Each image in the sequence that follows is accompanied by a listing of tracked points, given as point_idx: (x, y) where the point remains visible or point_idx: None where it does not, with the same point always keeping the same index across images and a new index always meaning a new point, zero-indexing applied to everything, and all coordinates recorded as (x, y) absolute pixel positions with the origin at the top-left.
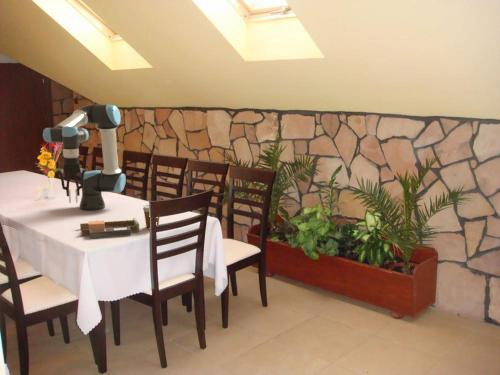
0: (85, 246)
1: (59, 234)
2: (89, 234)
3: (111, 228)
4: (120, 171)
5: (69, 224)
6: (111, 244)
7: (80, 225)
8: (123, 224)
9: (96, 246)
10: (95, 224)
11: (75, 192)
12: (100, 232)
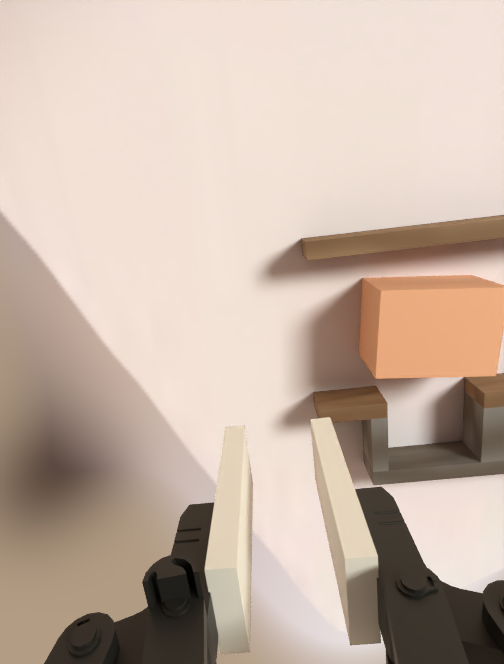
0: None
1: (173, 347)
2: (365, 431)
3: None
4: None
5: (204, 69)
6: (469, 571)
7: (306, 258)
8: None
9: None
10: (427, 376)
11: (332, 508)
12: (439, 476)
